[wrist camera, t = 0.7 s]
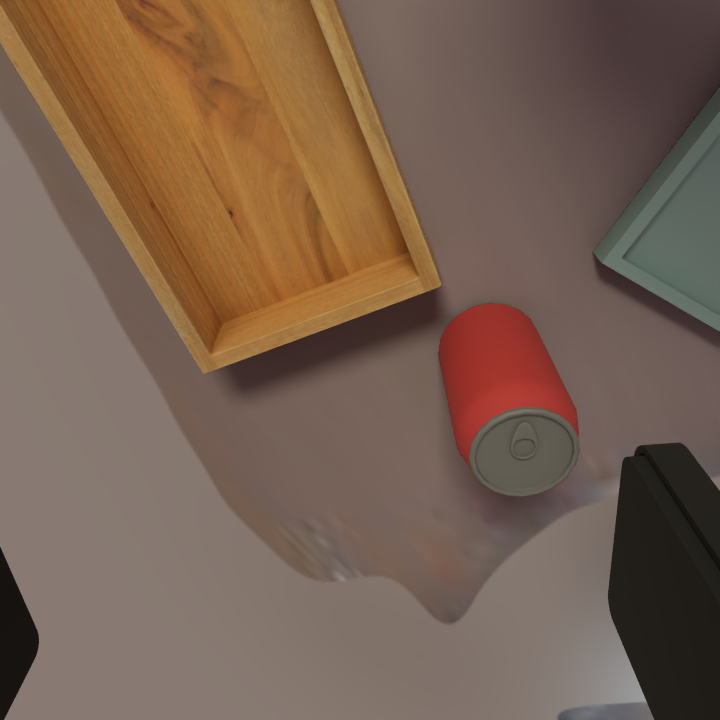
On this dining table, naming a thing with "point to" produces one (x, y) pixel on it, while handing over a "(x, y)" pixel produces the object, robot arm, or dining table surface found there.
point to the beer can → (507, 402)
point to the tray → (230, 160)
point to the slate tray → (676, 224)
